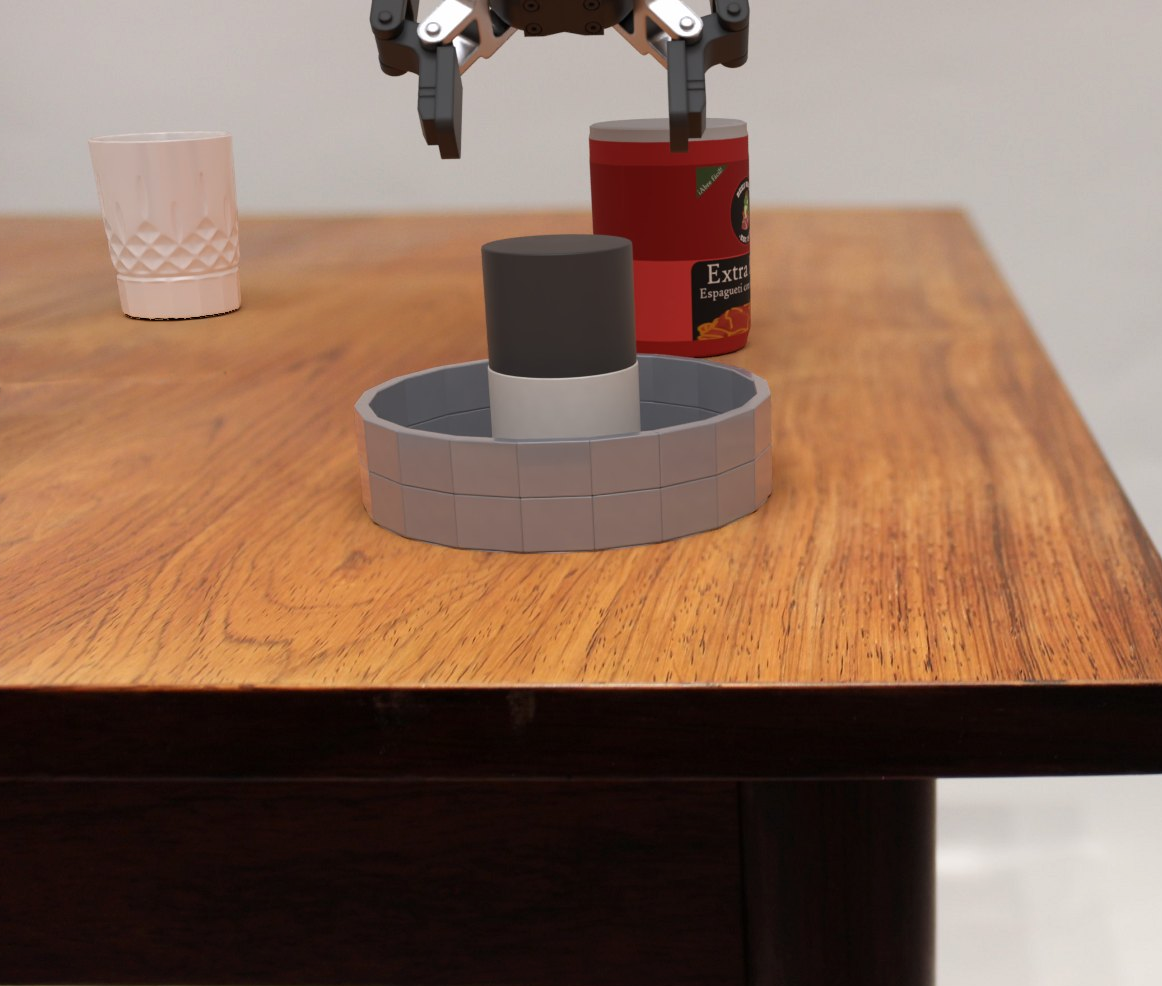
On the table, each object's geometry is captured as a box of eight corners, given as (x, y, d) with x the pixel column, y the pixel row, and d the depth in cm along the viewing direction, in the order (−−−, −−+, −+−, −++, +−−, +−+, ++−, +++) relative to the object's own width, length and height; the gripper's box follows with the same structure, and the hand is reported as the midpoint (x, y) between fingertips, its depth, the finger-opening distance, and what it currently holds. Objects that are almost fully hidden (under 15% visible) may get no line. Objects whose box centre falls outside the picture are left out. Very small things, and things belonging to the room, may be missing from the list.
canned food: (724, 363, 81) (719, 128, 78) (573, 356, 84) (561, 128, 80) (771, 334, 88) (768, 117, 84) (630, 328, 91) (621, 117, 87)
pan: (333, 574, 52) (320, 448, 50) (398, 459, 65) (389, 357, 64) (784, 560, 52) (783, 435, 51) (758, 449, 65) (757, 347, 64)
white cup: (244, 318, 96) (223, 138, 93) (101, 325, 95) (75, 143, 92) (257, 297, 103) (238, 129, 100) (125, 303, 102) (101, 133, 99)
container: (489, 513, 56) (471, 256, 53) (502, 473, 61) (486, 235, 58) (642, 509, 56) (632, 252, 53) (643, 469, 61) (634, 232, 58)
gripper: (733, -99, 72) (752, 203, 65) (401, -92, 72) (385, 212, 65) (737, -254, 65) (759, 64, 59) (371, -248, 65) (349, 73, 58)
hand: (562, 141), depth 62 cm, fingers open, 8 cm apart
